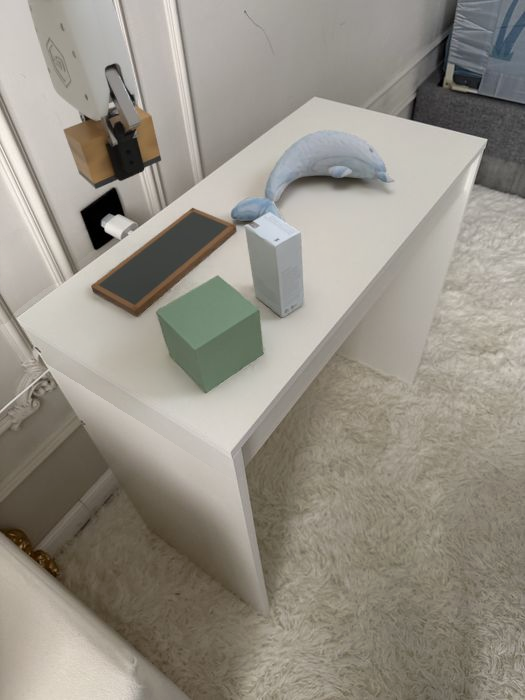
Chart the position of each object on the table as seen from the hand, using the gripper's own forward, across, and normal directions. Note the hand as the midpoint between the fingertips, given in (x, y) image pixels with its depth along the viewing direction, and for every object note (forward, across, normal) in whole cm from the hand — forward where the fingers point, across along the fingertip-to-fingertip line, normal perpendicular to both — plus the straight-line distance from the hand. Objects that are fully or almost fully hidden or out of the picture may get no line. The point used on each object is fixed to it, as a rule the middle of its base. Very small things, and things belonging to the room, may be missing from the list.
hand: (119, 164), depth 56 cm
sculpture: (+21, -3, +32) cm, 38 cm away
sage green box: (+21, +13, +1) cm, 25 cm away
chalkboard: (+21, -7, +6) cm, 23 cm away
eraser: (0, 0, 0) cm, 0 cm away
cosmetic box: (+21, +10, +12) cm, 27 cm away
